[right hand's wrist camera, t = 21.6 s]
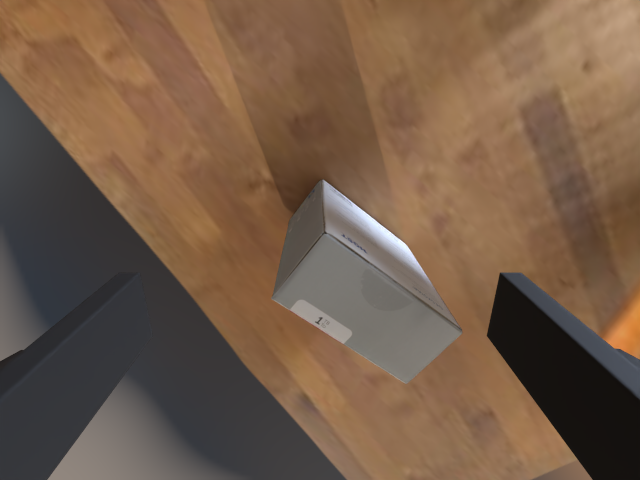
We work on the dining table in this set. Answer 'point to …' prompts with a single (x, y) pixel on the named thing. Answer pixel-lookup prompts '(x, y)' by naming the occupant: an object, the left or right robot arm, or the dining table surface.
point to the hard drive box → (361, 285)
